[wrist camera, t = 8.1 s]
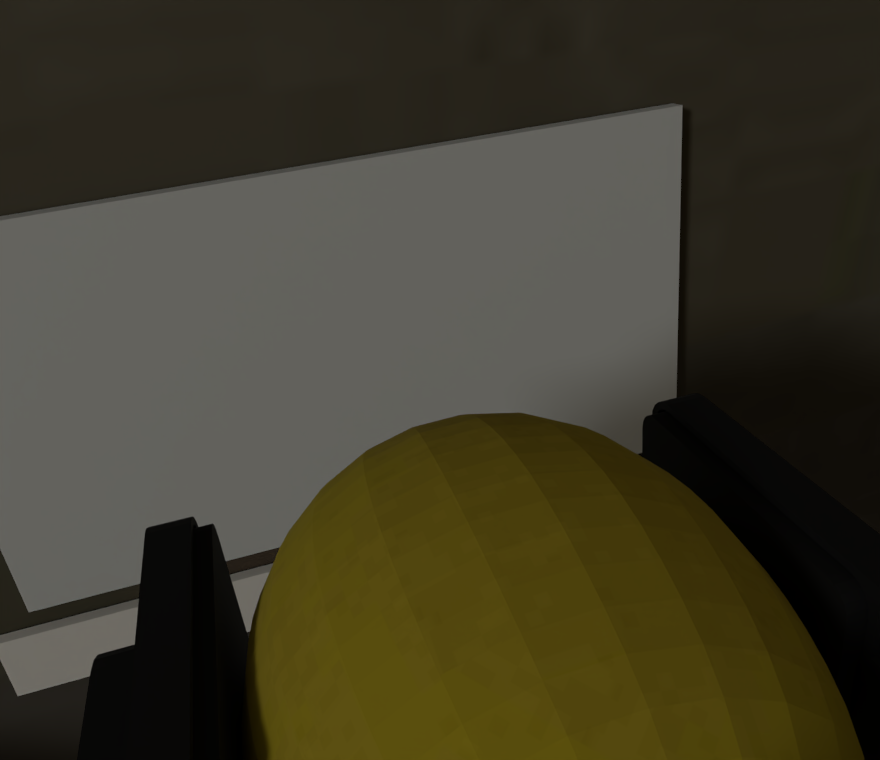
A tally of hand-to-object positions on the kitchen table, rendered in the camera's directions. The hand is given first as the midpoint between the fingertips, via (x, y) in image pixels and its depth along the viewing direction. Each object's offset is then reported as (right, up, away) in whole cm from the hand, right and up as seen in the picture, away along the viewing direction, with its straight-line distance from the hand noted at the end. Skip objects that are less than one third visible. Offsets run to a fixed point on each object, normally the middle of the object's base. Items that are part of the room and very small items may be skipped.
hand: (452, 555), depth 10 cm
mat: (-2, +3, +7) cm, 8 cm away
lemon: (0, +1, +1) cm, 2 cm away
